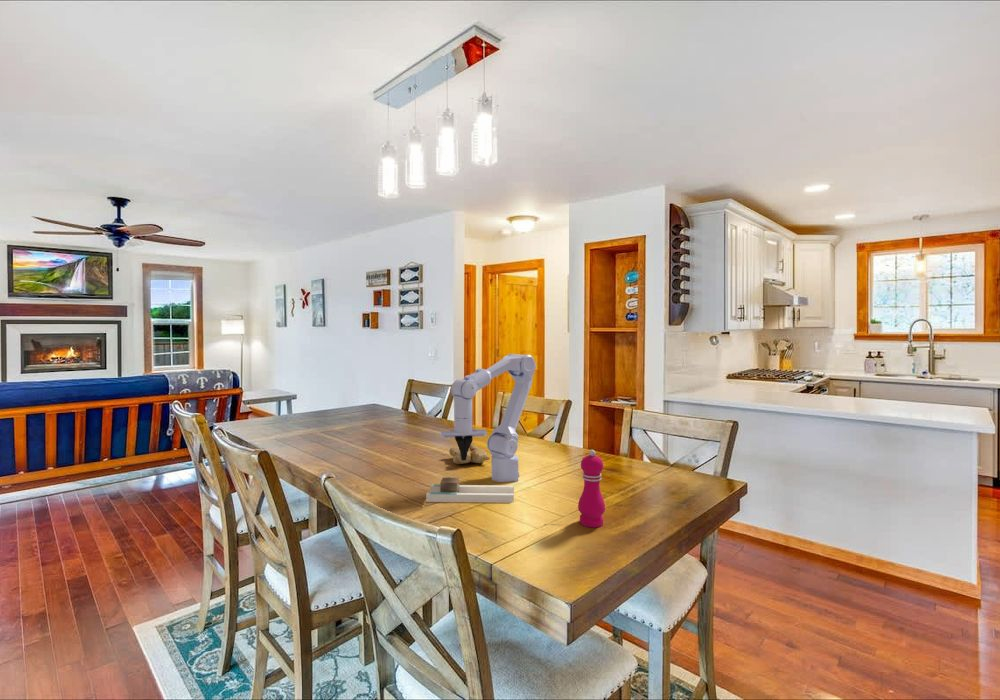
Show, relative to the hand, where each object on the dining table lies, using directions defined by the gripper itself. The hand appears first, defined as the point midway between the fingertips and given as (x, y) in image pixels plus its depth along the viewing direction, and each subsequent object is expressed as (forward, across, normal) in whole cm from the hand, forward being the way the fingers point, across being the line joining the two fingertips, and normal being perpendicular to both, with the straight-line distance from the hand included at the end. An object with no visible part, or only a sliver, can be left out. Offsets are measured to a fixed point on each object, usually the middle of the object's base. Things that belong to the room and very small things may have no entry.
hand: (463, 459), depth 160 cm
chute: (+10, -1, +8) cm, 13 cm away
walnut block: (+9, +5, +6) cm, 12 cm away
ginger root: (+11, -6, -33) cm, 35 cm away
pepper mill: (+11, -31, +32) cm, 45 cm away
